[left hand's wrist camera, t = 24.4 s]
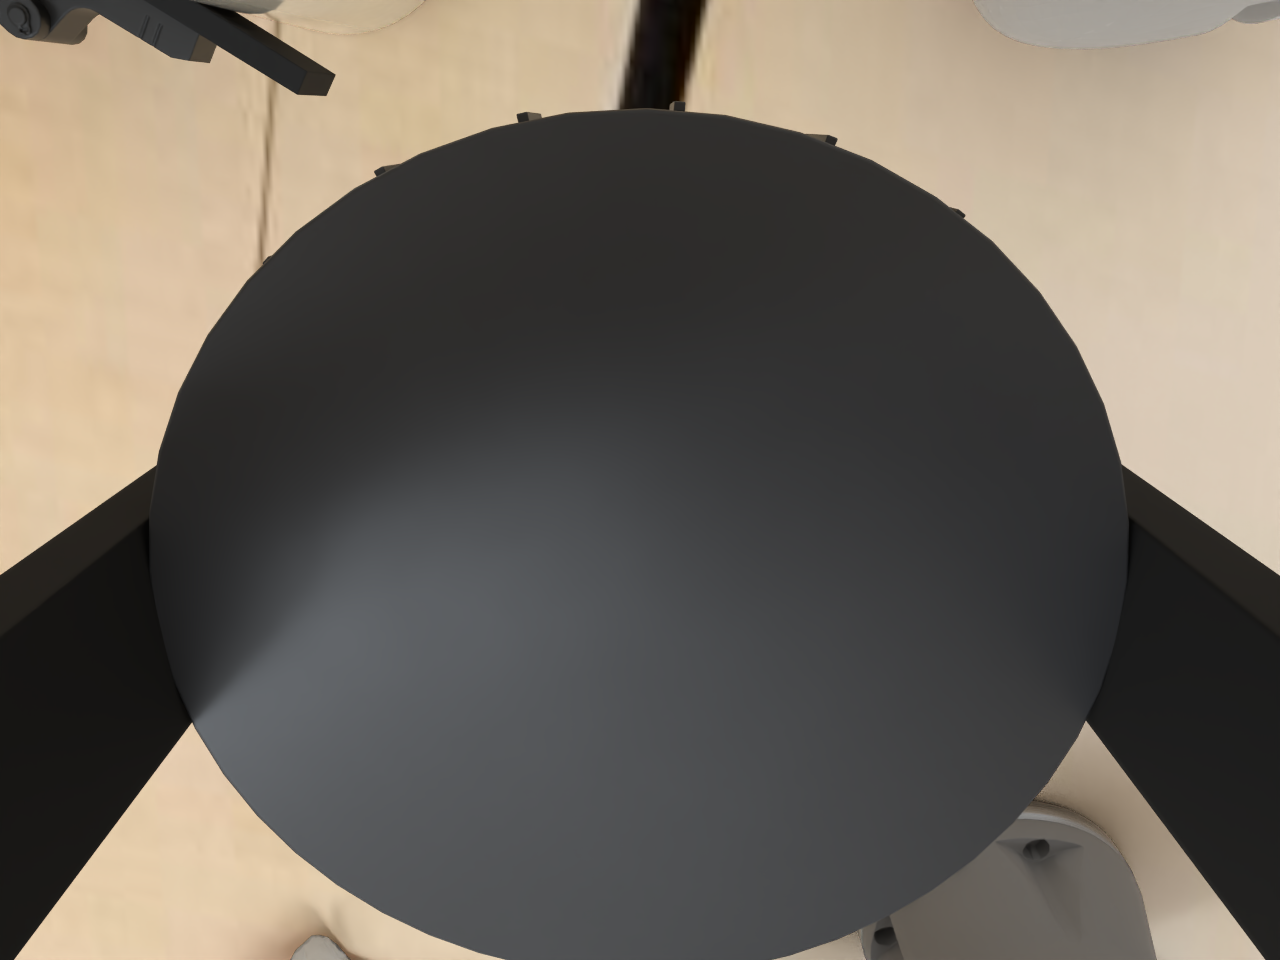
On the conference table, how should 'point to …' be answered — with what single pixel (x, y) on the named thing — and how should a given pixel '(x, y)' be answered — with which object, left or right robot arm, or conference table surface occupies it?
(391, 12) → the jar
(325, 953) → the fish
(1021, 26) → the projector
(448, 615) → the lid
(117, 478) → the conference table surface
